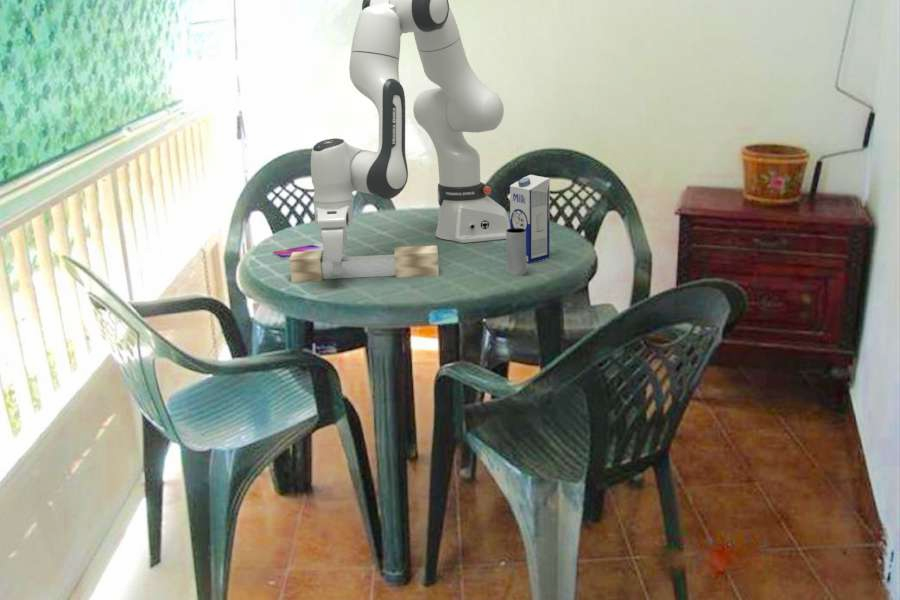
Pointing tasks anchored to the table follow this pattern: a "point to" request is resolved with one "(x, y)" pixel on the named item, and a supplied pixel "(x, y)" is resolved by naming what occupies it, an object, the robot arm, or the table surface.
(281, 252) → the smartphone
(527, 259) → the milk carton
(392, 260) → the slip tube
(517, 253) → the grey cylinder
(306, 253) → the beige wooden block
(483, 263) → the table surface
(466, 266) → the table surface
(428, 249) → the sleeve
